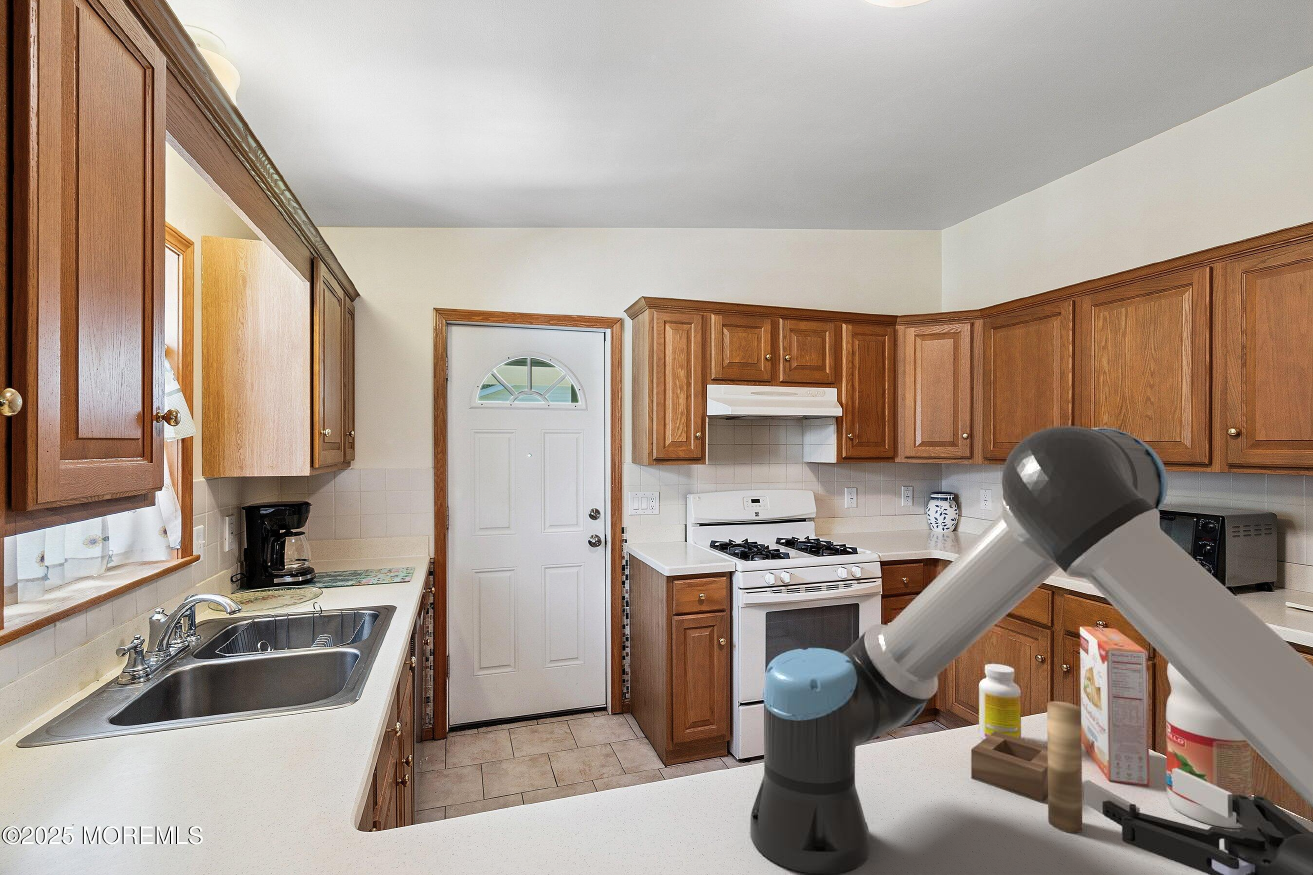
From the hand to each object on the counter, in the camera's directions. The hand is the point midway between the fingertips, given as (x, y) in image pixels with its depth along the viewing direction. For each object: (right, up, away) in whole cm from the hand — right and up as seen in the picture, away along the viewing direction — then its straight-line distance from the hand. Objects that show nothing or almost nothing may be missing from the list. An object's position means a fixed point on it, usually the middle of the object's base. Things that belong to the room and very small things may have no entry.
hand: (1131, 785), depth 82 cm
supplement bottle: (+2, -11, +36) cm, 38 cm away
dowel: (-3, -10, +9) cm, 14 cm away
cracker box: (+16, -11, +27) cm, 33 cm away
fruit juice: (+20, -11, +13) cm, 26 cm away
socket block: (-2, -10, +22) cm, 24 cm away
